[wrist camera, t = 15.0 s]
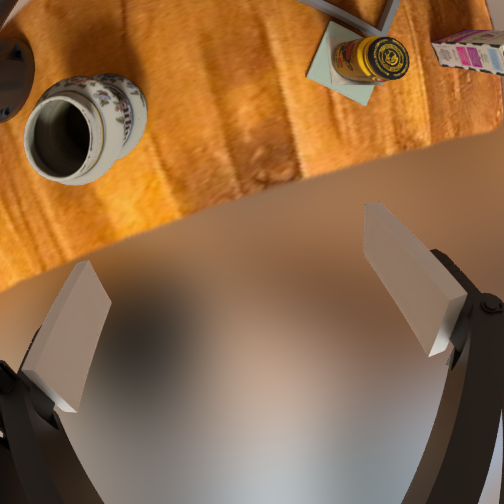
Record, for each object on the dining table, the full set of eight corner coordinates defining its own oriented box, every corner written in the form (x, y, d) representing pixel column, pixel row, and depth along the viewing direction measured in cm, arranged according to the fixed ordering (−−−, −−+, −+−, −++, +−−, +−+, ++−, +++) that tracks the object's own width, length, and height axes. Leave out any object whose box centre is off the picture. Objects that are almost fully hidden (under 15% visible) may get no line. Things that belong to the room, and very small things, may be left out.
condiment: (325, 38, 33) (362, 26, 23) (378, 41, 33) (424, 35, 23) (331, 85, 37) (368, 89, 27) (382, 85, 37) (429, 92, 27)
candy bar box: (440, 68, 35) (511, 79, 21) (429, 42, 33) (500, 44, 19) (476, 53, 33) (542, 63, 19) (466, 28, 30) (533, 32, 16)
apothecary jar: (73, 142, 37) (5, 183, 22) (93, 67, 32) (22, 68, 17) (141, 161, 41) (98, 213, 26) (167, 85, 35) (130, 88, 20)
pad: (305, 77, 36) (306, 77, 36) (329, 21, 32) (330, 20, 31) (364, 105, 39) (365, 106, 38) (386, 52, 34) (388, 52, 34)
